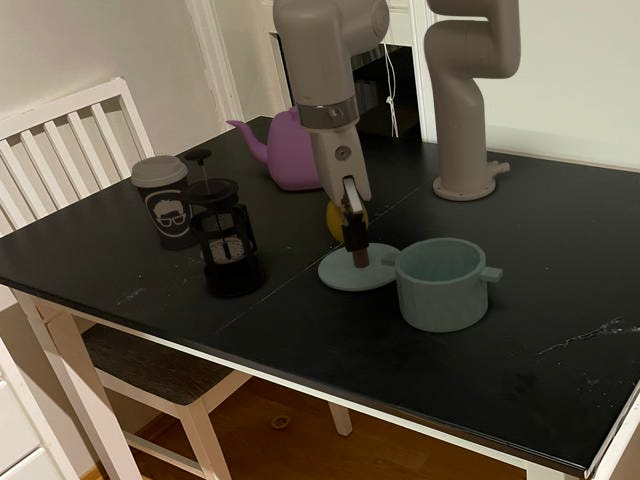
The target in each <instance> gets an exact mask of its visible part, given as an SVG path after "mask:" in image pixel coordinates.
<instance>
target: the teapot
mask: <svg viewBox="0 0 640 480" xmlns="http://www.w3.org/2000/svg"><path fill="white" fill-rule="evenodd" d="M225 123H226V124H228V125H230V126H232V127H235V128H236V129H237V130H238V131H239V132H240V133H241V135H242V137H243V138H244V140H245V142H246V145H247V148H248V149H249V152H250V154H251V155H252V156H253V159H255V160H256V161H257V162H259V163H260V164H262V165H264V166H266V167H267V168H268V172H269V175H270V177H271V178H272V179H273V181H274V182H275V183H276V185H277V186H278V187H279V188H280V189H282V190H285V191H304V190H313V189H314V190H315V189H321V188H323V186H322V185H321V183H320V180H319V177H318V174H317V170H316V166H315V161H314V156H313V152H312V146H311V141H310V135H309V132H306V131H304V130H302V129H301V128H300V126H299V122H298V117H297V113H296V108H295V105H293V106H291V107H289V109H288V110H284V111H283V110H282V111H280V112H278V113H276V114H275V115H274V116H273V118H272V120H271V122H270V126H269V130H268V135H267V142H266V144H264V143H261V142H260V141H259V140H258V139H257V138H256V136H255V134H254V132H253V130H252V128H251V127H250V126H249V125H248V124H247V123H246V122H245V121H242V120H236V119H235V120H234V119H232V120H231V119H230V120H225Z"/></svg>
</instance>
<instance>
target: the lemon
mask: <svg viewBox="0 0 640 480" xmlns="http://www.w3.org/2000/svg"><path fill="white" fill-rule="evenodd" d="M341 200H342V203H343V202H347V201H348V199H347V197H346V198H343V199H341ZM360 202H361V206H362V209H363V214H364V218H365V222H366V228H367V229H368V228H369V216H368V213H367V209H366V207H365V205H364V203H363V201H362V199H360ZM345 211H346V215H348V212H350V207H346V208H345ZM326 224H327V227H328V229H329V232H330V233H331V235H332V237H334V239H336V240H337V241H338V242H340V243H343V244H345V243H344V238H343V232H342V227H341V225H344V224H343V221H342V217H341V213H340V209H339V207H338V206H336V205H335V204H334V203H333V202H332V200H331V201H330V202H328V204H327V207H326Z"/></svg>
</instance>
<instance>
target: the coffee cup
mask: <svg viewBox="0 0 640 480" xmlns="http://www.w3.org/2000/svg"><path fill="white" fill-rule="evenodd" d="M188 173H189V169H188V168H187V166H186V165H185V163H184V162H182V161H181V160H180V159H179V157H178V156H175V155H167V154H163V155H155V156H150V157H147V158H144V159H141V160H139V161H137V162H136V163H134V164H133V166H132V167H131V174H130V183H131V184H132V185H133V186H135V187H136V189H137V191H138V193H139V195H140V198H141V200H142V202H143V204H144V206H145V209H146V210H147V213H148V215H149V217H150V220H151V221H152V223H153V225H154V228H155V230H156V231H157V234H158V237H159V239H160V241H161V243H162V245H163V247H164V248H165V249H168V250H182V249H186V248H189V247H192V246H193V245H195V244H197V243H198V242H199V241H198V238H196V237H194V236H193V235H192V234H191V232H190V229H189V226H188V223H189V220H190V219H191V218H192V217H193V216H194V215H196V214H195V210H194V205H190V204H188V206H187V208H186V207H185V203H184V202H182V201H181V200H180V198H179V194H180V192H181V191H182V189H184V188H185V187H187V186H188V185H189V183H188V182H189V181H188V177H187V175H188ZM192 229H194V230H195V228H194V227H193V228H192Z"/></svg>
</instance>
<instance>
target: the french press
mask: <svg viewBox="0 0 640 480" xmlns="http://www.w3.org/2000/svg"><path fill="white" fill-rule="evenodd" d="M213 154H214V151H213V150H212V149H210V148H196V149H192V150H190V151H188V152H186V153H185V154H183V159H184V160H186V161H192V162H195V161H196V163H197V165H198V166H199V167H200V169H201V172H202V173H201V174H202V176H203V179H202V180H199V181H196V182H193V183H191V184H188V186H187V187H185V188H184V189H182V191H181V192H180V194H179V198H180V200H181V201H182V202H184V203H185V207H186V208H187V206H188V204H190V205H193V206H200V207H203V208H205V209H204V210H201V211H199V212H198V213H196V214H195V215H194V216H193V217H192V218H191V219H190V220H189V223H188V226H189V229H190V232H191V234H192V235H193V236H194V237H196V238H198V241H197V242H198V244H199V247H200V253H199V257H200V258H201V260H203V262H204V263H205V266H204V268H203V275H204V277H205V281H206V289H207V291H208V293H209V294H211V295H212V296H214V297H217V298H221V299H222V298H223V299H232V298H239V297H242V296H246V295H248V294H251V293H253V292H255V291H257V290H258V289H259V288H261V286H262V285H263V283H264V282H265V274H264V272H263V271H262V268H261V264H260V260H259V258H258V257H257V256H256V255H255V253H256V252H257V251H258V247H257V243H256V239H255V235H254V230H253V227H252V223H251V219H250V216H249V212H248V209H247V205H246V204H245V203H242V202H241V203H240V201H239V200H240V197H239V193H238V191H239V190H240V186H239V183H238V182H237V181H235V180H234V179H232V178H231V179H230V178H225V177H215V178H208V177H207V174H206V172H205V168H204V166H205V159H206V160H207V159H208V158H210V157H211V156H212V155H213ZM220 215H230V216H231V220H232V224H233V225H232V226H230V227H227V228H224V229H222V226H221V222H220V218H219V216H220ZM211 217H215V220H216V224H217V227H218V230H214V231H205V229H204V226H203V223H202V221H203V220H206V219H208V218H211ZM193 227H194V228H195V230H194V229H192V228H193ZM234 235H236V237H235V236H234ZM213 240H214V241H213ZM209 241H211V242H209ZM235 272H247V273H246V274H243V275H241V276H237V277H234V278H228V279H227V278H226V279H221V278H222V277H224V276H225V275H228V274H230V273H235Z"/></svg>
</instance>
